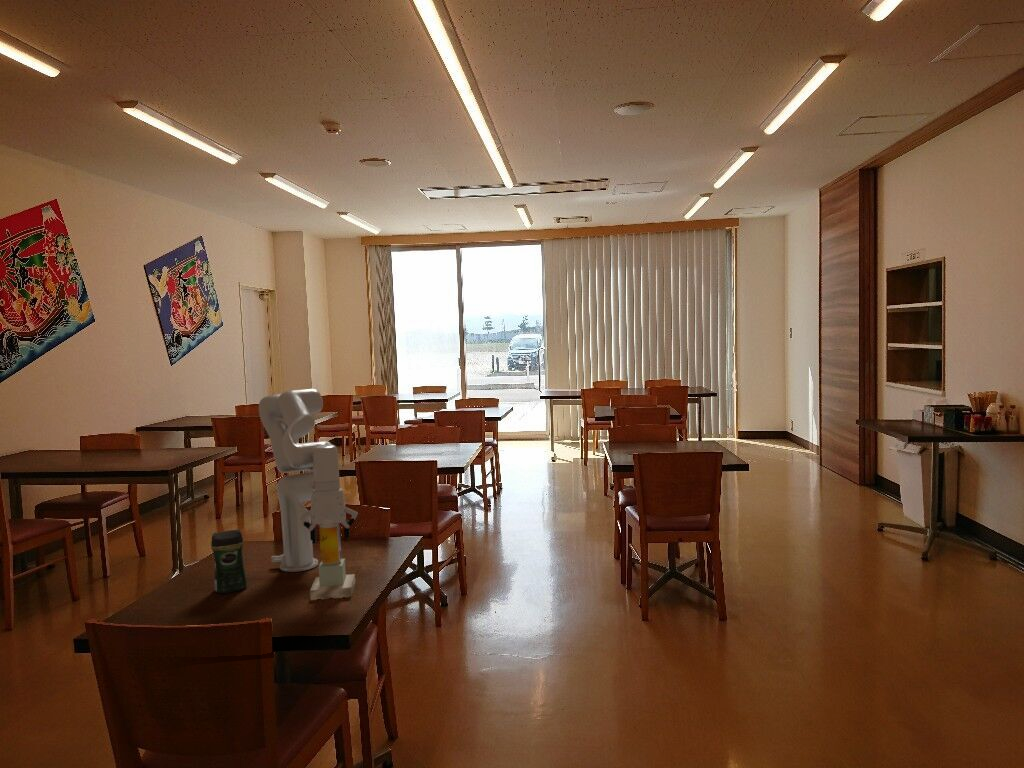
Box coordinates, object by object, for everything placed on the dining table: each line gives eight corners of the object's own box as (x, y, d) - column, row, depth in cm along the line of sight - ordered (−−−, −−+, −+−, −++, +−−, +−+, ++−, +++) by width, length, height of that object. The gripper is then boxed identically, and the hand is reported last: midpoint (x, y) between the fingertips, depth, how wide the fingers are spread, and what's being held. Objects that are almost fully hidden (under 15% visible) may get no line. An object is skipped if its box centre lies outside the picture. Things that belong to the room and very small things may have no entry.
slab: (310, 600, 219) (309, 590, 219) (316, 586, 231) (316, 577, 231) (351, 596, 221) (351, 587, 221) (355, 583, 233) (354, 574, 232)
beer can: (323, 560, 228) (320, 512, 227) (343, 558, 229) (340, 511, 227) (319, 566, 222) (316, 517, 221) (340, 565, 223) (337, 516, 221)
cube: (319, 586, 222) (318, 567, 221) (322, 579, 229) (321, 560, 228) (343, 585, 223) (342, 565, 222) (345, 577, 230) (344, 558, 229)
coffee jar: (246, 582, 238) (242, 526, 236) (247, 590, 231) (243, 532, 229) (214, 587, 234) (209, 530, 233) (214, 595, 227) (210, 536, 225)
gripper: (295, 490, 219) (299, 547, 220) (354, 486, 221) (358, 542, 222) (299, 485, 226) (303, 540, 228) (357, 481, 228) (360, 535, 229)
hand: (330, 541), depth 225 cm, fingers open, 9 cm apart
